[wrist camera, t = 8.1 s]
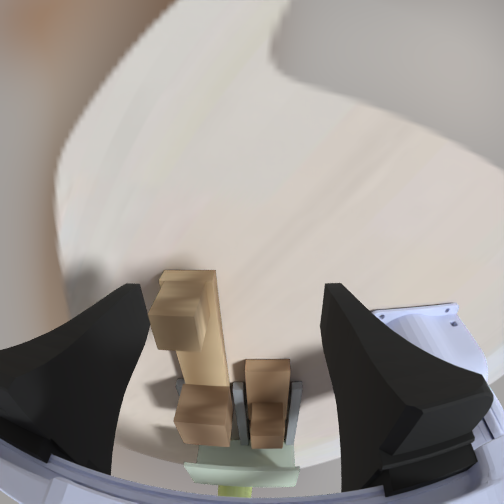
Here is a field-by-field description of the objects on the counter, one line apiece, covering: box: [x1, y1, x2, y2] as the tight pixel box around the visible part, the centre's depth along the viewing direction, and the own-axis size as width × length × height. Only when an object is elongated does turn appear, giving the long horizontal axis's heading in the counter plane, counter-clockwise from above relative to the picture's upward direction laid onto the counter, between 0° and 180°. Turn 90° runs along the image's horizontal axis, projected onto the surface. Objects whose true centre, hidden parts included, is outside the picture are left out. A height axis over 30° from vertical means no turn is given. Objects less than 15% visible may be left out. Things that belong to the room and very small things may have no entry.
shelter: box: [184, 440, 300, 487], centre depth 29 cm, size 12×6×7 cm, turn 92°
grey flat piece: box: [176, 379, 302, 447], centre depth 30 cm, size 13×13×2 cm
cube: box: [174, 384, 233, 447], centre depth 25 cm, size 4×4×4 cm
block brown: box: [245, 359, 290, 449], centre depth 25 cm, size 4×8×6 cm, turn 2°
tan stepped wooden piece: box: [148, 270, 232, 400], centre depth 23 cm, size 4×16×6 cm, turn 2°
